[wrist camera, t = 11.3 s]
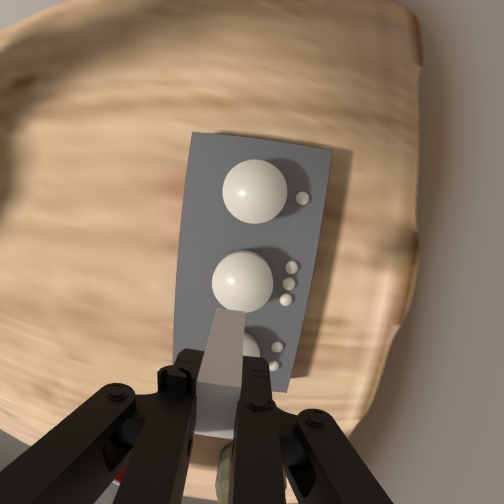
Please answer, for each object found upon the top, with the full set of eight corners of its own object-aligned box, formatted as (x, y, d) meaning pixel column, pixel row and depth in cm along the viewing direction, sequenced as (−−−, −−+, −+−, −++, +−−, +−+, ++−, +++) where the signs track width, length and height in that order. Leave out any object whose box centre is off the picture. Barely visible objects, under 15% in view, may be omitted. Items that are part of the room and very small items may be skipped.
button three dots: (215, 293, 29) (209, 308, 25) (220, 241, 28) (215, 250, 24) (266, 300, 29) (268, 316, 25) (274, 249, 28) (277, 258, 24)
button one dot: (224, 215, 28) (218, 219, 24) (231, 160, 26) (227, 155, 23) (278, 222, 28) (282, 227, 24) (286, 167, 27) (291, 164, 23)
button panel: (177, 364, 32) (171, 378, 29) (197, 136, 27) (191, 131, 24) (284, 379, 32) (287, 394, 29) (325, 153, 27) (332, 150, 24)
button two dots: (209, 358, 31) (203, 379, 27) (212, 316, 30) (206, 334, 26) (256, 364, 31) (256, 386, 27) (263, 323, 30) (263, 341, 26)
